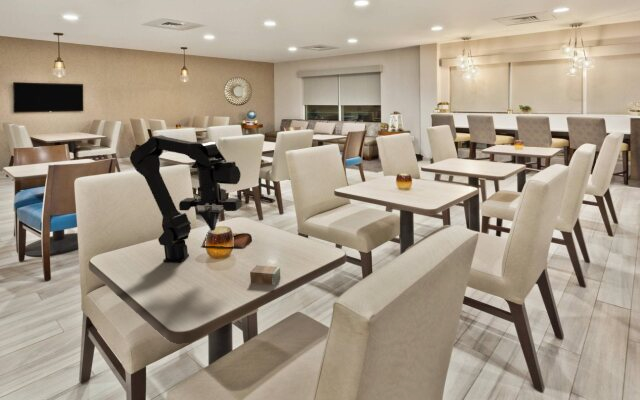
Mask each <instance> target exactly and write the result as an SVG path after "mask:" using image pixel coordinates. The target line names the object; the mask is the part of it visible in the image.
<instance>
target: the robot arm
mask: <svg viewBox="0 0 640 400" xmlns="http://www.w3.org/2000/svg"><path fill="white" fill-rule="evenodd" d="M216 144H217V143H216V142H214V141H212V140H210V141H209V140H207V141H206V140H204V141H189V140H185V139H179V138H173V137H167V136H164V135H153V136H151V137H150V138H148V139H147V140H146V141H145V142H144V143H142V144H141V145H139V146H138V147H136V149H134V150H132V151H131V153H130V156H129V160H130V163H131V164H132V166H133V168H134V169H135V170H136V172H137V173H139V174H140V175H141V176H143V178H144V179H145V181H146V184H147V185H148V187H149V189H150V192H151V194H152V196H153V199H154V200H155V203H156V205H157V207H158V209H159V212H160V213H161V216H162V221H161V229H162V230H163V233H162V234H161V235H160V236H159V238H158V243H159V244H160V246H163V248H164V256H165V257H164V259H163V260H162V261H163V262H164V263H165V262H166V263H182V262H183V261H184V260H186V259H187V258H188V257H189V256H190V253H188V252H189V251H188V245H187V244H186V240H188V239H189V235H190V233H191V230H192V227H191V222H190V220H189V217H188V215H187V213H185V212H184V213H181V212H179V211H190V209H191V208H197V210H196V213H197V214H199V215H200V216H201V218H203V220H204V222H205V223H206V224H207V226H208V227H209V230H210V232H212V231H213V232H214V231H215V230H216V227H217V226H216V225H217V223H218V220H219V216H220V214H221V212H223V211H226V212H237V211H238V210H240V209H241V208H242V207H243V205H242V204H243V203H242V200H241V199H240V197H239V198H238V197H237V198H236V197H235V198H234V197H233V198H230V197H229V198H228V199H227V198H226V197H227V189H225V188H221V185H222V184H225V185H238V184H239V182H240V180H241V176H242V175H241V171H240V168H239V167H238V166H237V165H236V161H227V159H226V158H225V157H224V155H223V154H222V152H221V151H220V149H219V148H218V146H217V145H216ZM164 151H166V152H169V153H170V152H172V153H176V154H181V155H185V156H187V157H188V158H189V159H190V160H193V161H195V162H193V164H192V165H191V169H197V176H198V186H197V191H198V192H199V197H200V199H198V198H197V197H186V198H184V199H182V200H180V201H179V204H178V207H179V210H178V209H177V206H176V205H175V203H174V201H173V198H172V195H171V194H170V191H169V189H168V187H167V185H166V183H165V181H164V178H163V176H162V175H161V172H160V168H161V160H160V156H162V155H163V153H164ZM222 200H223V201H222Z"/></svg>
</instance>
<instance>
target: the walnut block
mask: <svg viewBox="0 0 640 400" xmlns="http://www.w3.org/2000/svg"><path fill="white" fill-rule="evenodd" d="M249 276H250V283H251V284H261V285H269V286H270V285H271V286H273V285H274V286H275V285H276V284H278V283H277V282H279V280H280V279H281V278H282V277H281V267H280V266H272V265H269V266H268V265H257V264H256V265H255V266H254V267H253V269H251V270H250V272H249Z"/></svg>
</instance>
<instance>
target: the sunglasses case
mask: <svg viewBox="0 0 640 400" xmlns="http://www.w3.org/2000/svg"><path fill="white" fill-rule="evenodd" d="M208 232H209V231H207V232H206V235H205V237H204V239H203V242H202V244H201V245H200V248H206V247H205V241H206V236H207V233H208ZM233 237H234V249H246V248H247V246H249V244H251V242H252V241H253V237H252V234H250V233H249V232H247V233H246V232H242V233H241V232H240V233H239V232H238V233H236V232H235V233H234V232H233Z"/></svg>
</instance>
